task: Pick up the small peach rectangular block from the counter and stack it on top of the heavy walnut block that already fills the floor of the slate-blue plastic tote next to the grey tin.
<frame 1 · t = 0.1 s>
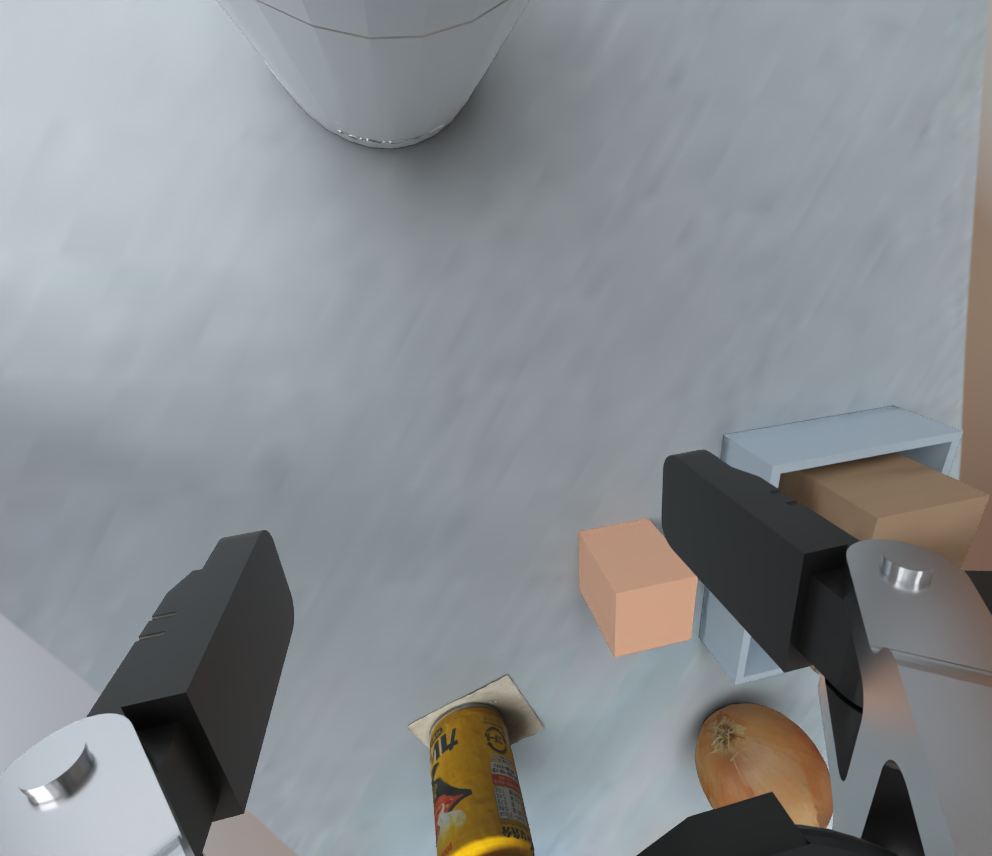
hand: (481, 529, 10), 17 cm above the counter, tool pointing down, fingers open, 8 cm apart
walnut block: (804, 488, 34), point 1 cm above the counter, touching tote
tote: (788, 529, 36), on the counter
peach rectangular block: (612, 554, 34), on the counter
condiment: (477, 722, 38), on the counter
onion: (721, 714, 44), on the counter
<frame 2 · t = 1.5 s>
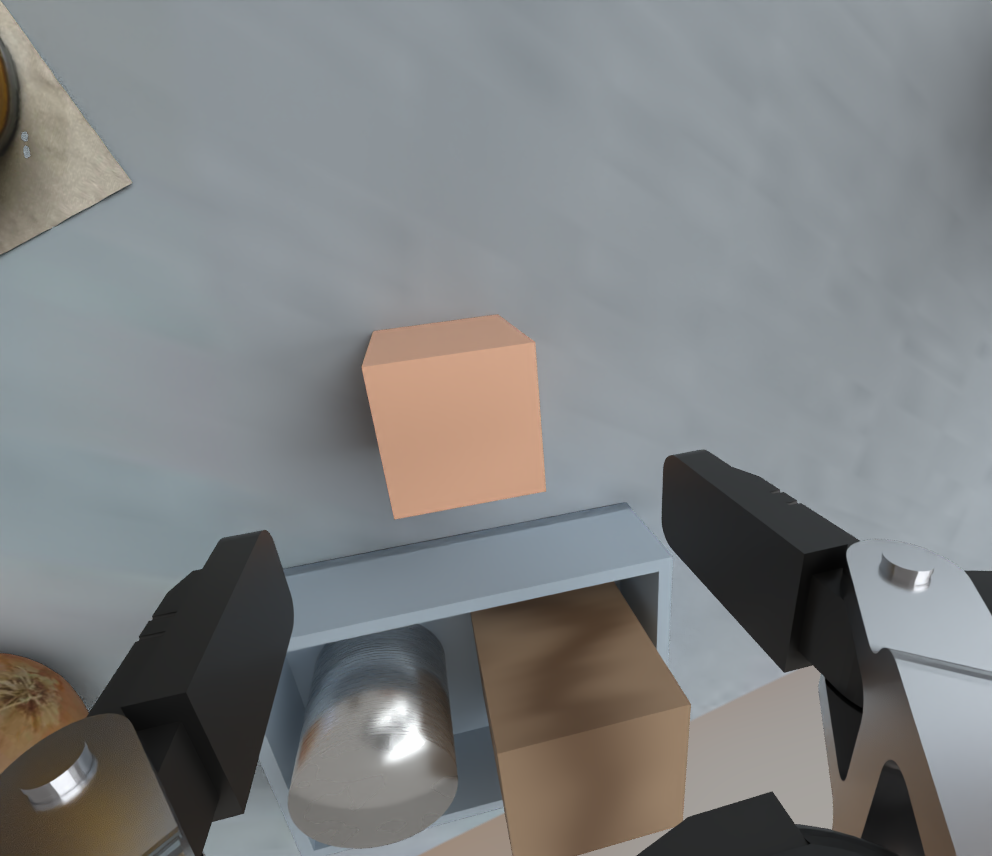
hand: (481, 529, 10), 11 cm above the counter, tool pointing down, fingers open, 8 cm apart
grey tin: (381, 668, 24), point 1 cm above the counter, touching tote
walnut block: (541, 632, 25), point 1 cm above the counter, touching tote
tote: (464, 640, 25), on the counter
peach rectangular block: (445, 382, 20), on the counter
onion: (19, 684, 22), on the counter
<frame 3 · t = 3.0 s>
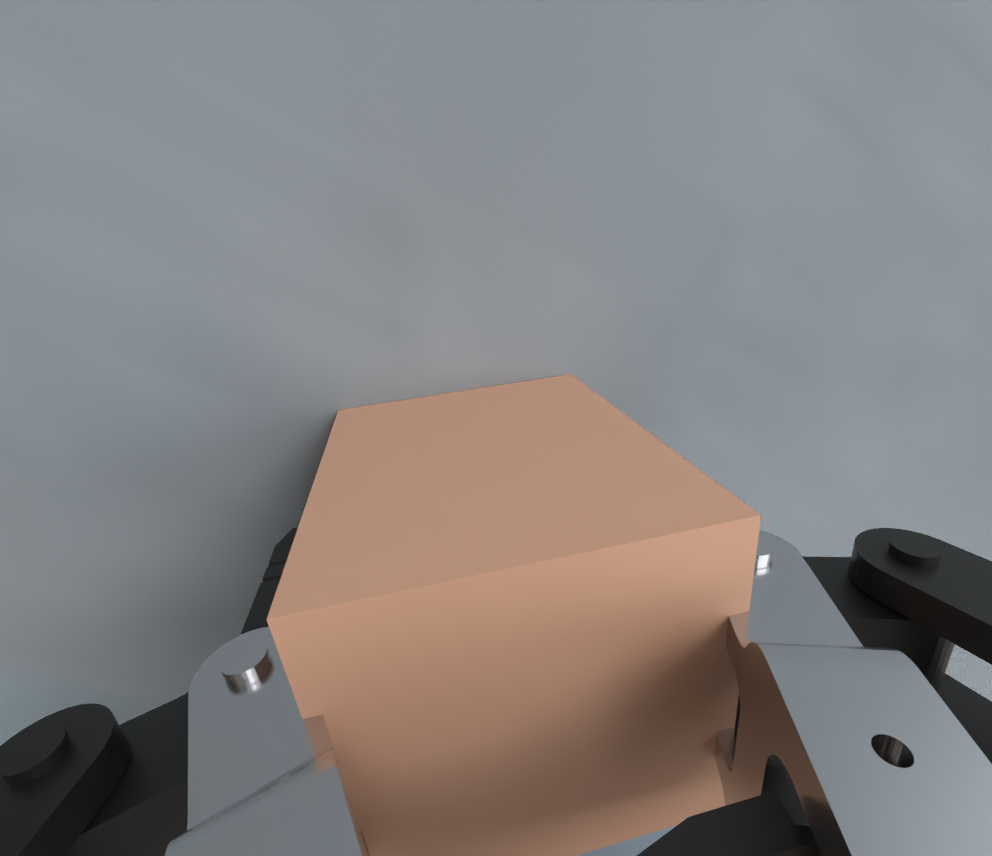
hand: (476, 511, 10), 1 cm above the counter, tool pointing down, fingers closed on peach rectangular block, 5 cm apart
peach rectangular block: (472, 493, 11), on the counter, touching gripper
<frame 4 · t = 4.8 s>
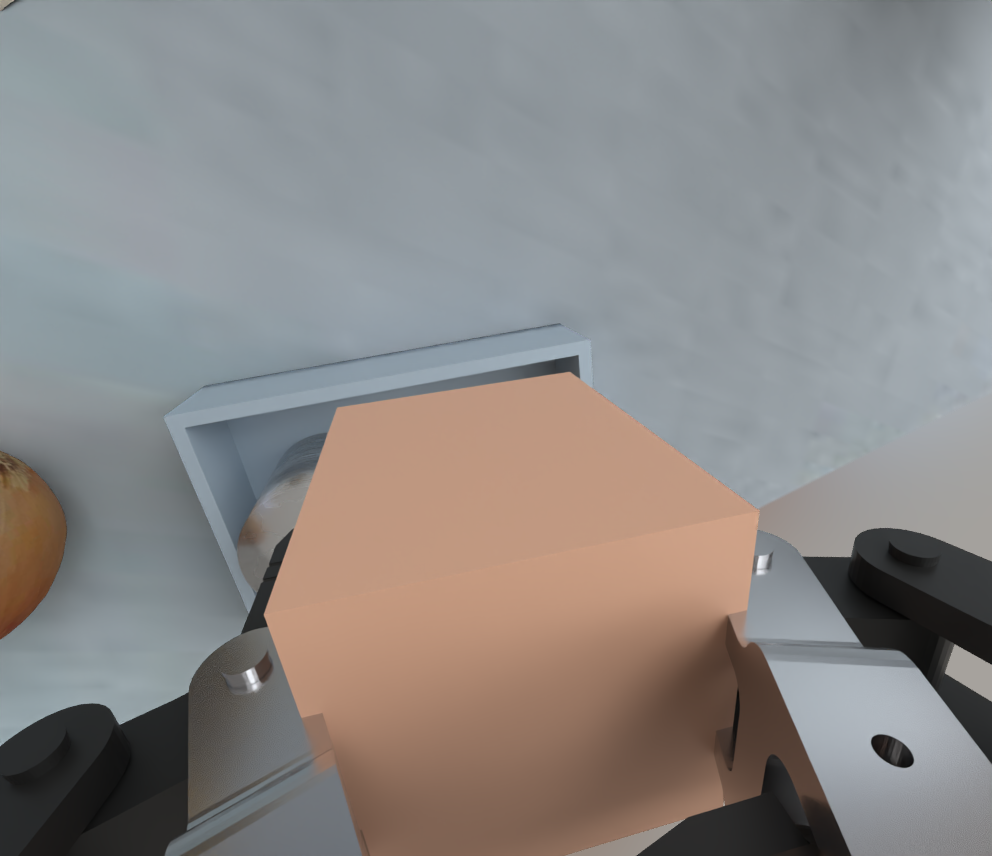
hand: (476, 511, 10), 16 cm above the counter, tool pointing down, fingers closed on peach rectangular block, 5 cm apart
grey tin: (336, 487, 26), point 1 cm above the counter, touching tote
tote: (415, 466, 27), on the counter
peach rectangular block: (471, 491, 11), point 15 cm above the counter, touching gripper
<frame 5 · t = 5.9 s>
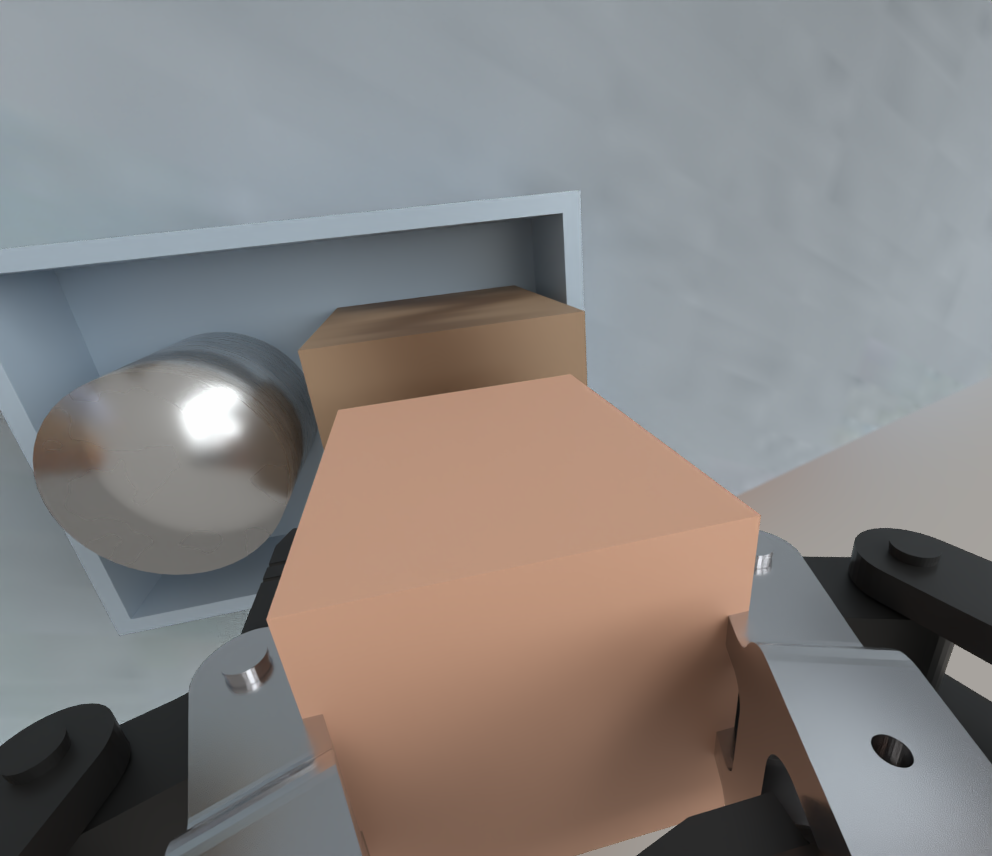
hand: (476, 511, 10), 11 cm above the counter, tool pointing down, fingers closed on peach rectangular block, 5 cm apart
grey tin: (234, 412, 19), point 1 cm above the counter, touching tote
walnut block: (440, 381, 20), point 1 cm above the counter, touching tote
tote: (345, 391, 20), on the counter
peach rectangular block: (472, 493, 11), point 11 cm above the counter, touching gripper
when the fingers open (10 cm above the counter, at t = 6.6 s): peach rectangular block stays where it is, resting on walnut block.
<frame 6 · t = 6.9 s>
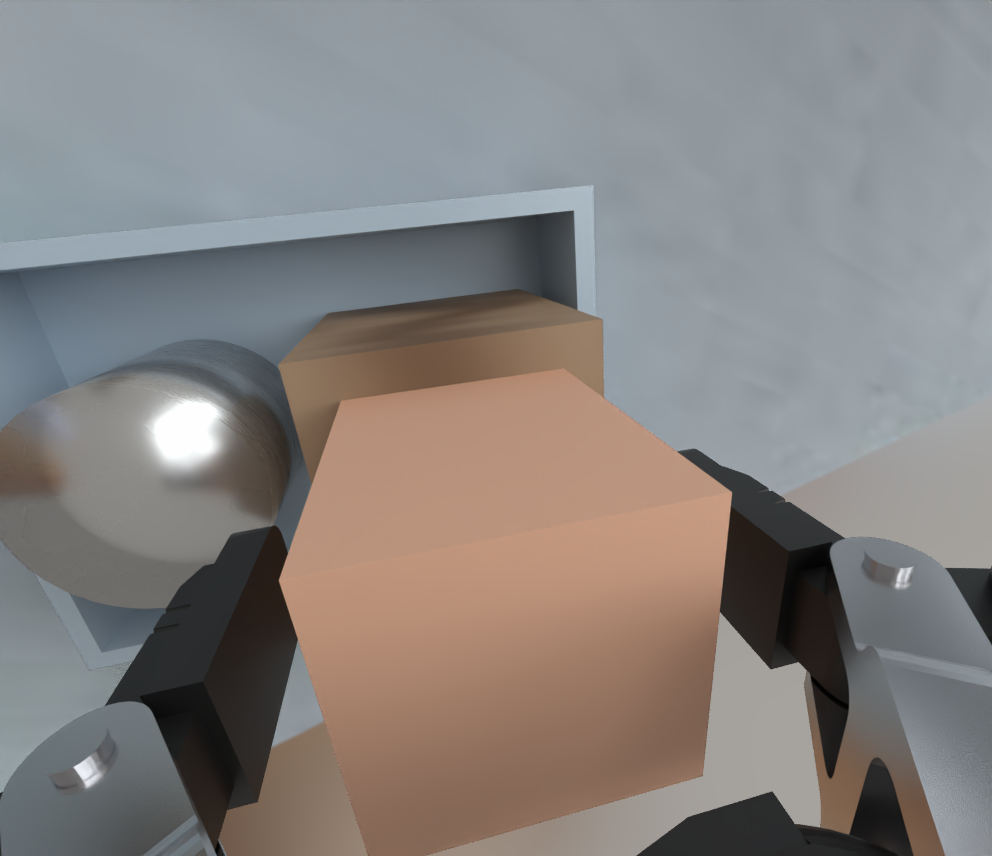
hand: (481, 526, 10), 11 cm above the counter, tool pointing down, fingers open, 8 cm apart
grey tin: (216, 425, 18), point 1 cm above the counter, touching tote
walnut block: (439, 391, 19), point 1 cm above the counter, touching peach rectangular block, tote
tote: (337, 402, 19), on the counter
peach rectangular block: (469, 483, 12), point 9 cm above the counter, touching walnut block
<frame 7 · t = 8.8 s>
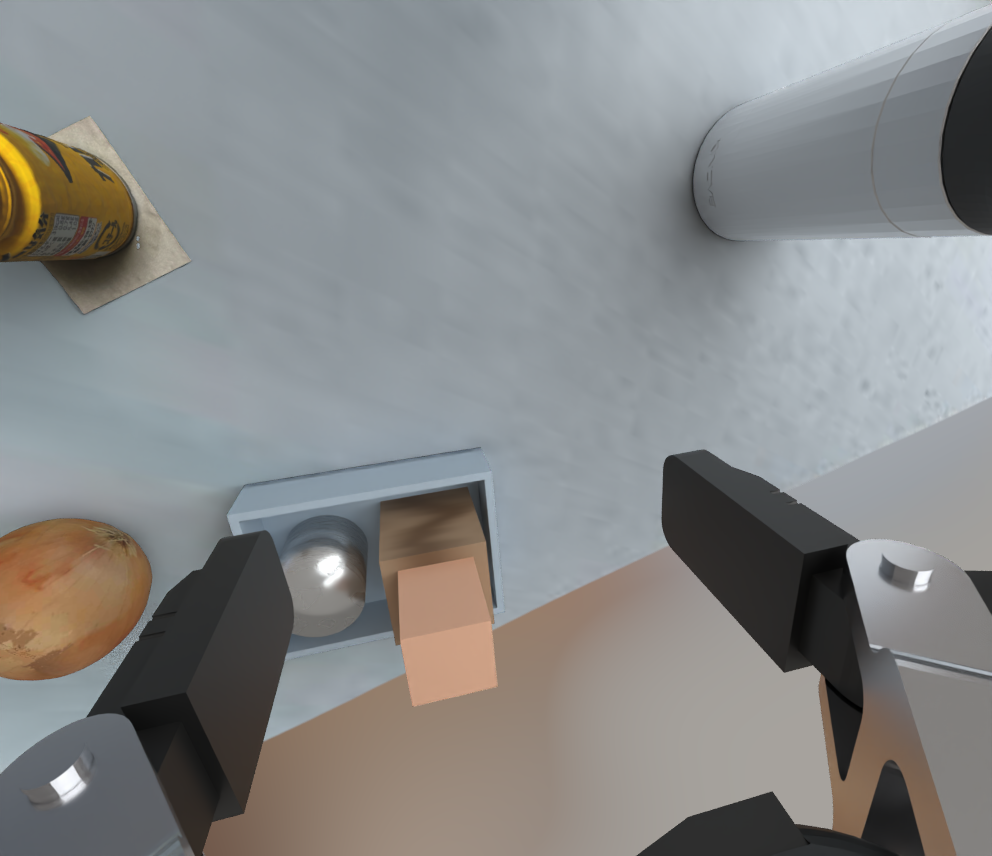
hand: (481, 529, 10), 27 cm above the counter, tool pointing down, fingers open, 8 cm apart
grey tin: (327, 549, 39), point 1 cm above the counter, touching tote
walnut block: (430, 530, 40), point 1 cm above the counter, touching peach rectangular block, tote
tote: (381, 535, 40), on the counter
peach rectangular block: (440, 594, 33), point 9 cm above the counter, touching walnut block
condiment: (91, 220, 29), on the counter
onion: (101, 550, 36), on the counter
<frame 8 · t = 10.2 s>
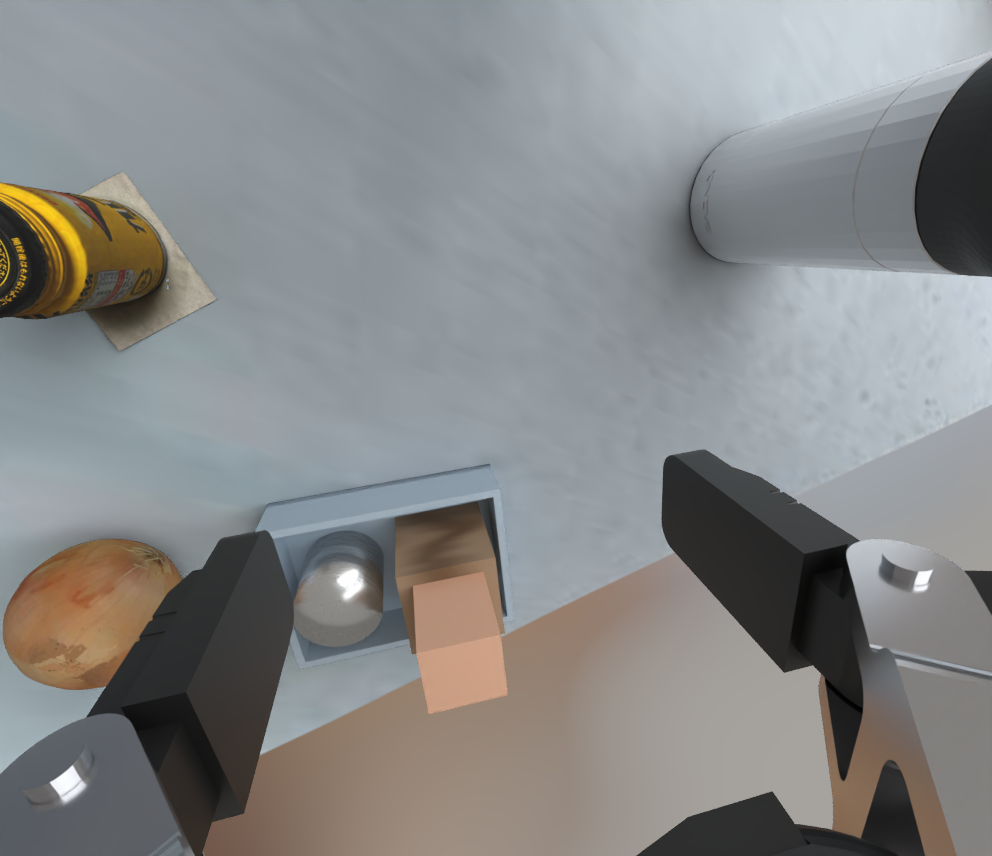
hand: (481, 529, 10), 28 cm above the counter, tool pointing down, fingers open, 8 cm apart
grey tin: (345, 562, 41), point 1 cm above the counter, touching tote
walnut block: (442, 543, 42), point 1 cm above the counter, touching peach rectangular block, tote
tote: (396, 548, 42), on the counter
peach rectangular block: (453, 606, 35), point 9 cm above the counter, touching walnut block
condiment: (125, 265, 31), on the counter
onion: (136, 566, 38), on the counter
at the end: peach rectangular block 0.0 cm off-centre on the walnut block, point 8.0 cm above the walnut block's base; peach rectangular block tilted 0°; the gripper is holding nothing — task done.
